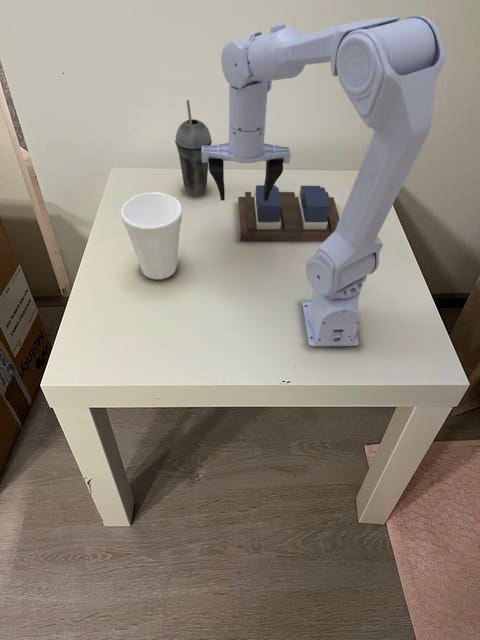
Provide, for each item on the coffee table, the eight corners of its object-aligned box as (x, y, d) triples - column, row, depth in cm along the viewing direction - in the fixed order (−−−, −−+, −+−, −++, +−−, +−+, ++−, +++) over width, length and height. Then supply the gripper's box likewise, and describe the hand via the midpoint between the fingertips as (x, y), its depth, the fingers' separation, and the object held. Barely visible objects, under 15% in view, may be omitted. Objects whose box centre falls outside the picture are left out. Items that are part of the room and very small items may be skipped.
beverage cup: (219, 188, 106) (218, 96, 91) (199, 204, 102) (196, 110, 87) (191, 178, 108) (187, 86, 94) (172, 193, 104) (163, 100, 89)
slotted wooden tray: (341, 241, 95) (345, 227, 93) (240, 241, 94) (240, 227, 92) (331, 204, 103) (334, 192, 101) (238, 204, 102) (238, 191, 100)
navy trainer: (280, 229, 94) (282, 207, 90) (256, 229, 94) (258, 207, 90) (275, 199, 100) (277, 177, 97) (253, 199, 100) (254, 177, 96)
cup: (154, 244, 93) (146, 185, 83) (197, 263, 90) (194, 203, 80) (119, 274, 87) (107, 214, 77) (164, 296, 84) (157, 236, 74)
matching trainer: (326, 229, 94) (331, 207, 90) (303, 229, 94) (306, 207, 90) (319, 199, 101) (322, 178, 97) (297, 199, 101) (300, 177, 97)
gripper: (290, 112, 79) (282, 184, 89) (201, 110, 78) (203, 184, 89) (295, 133, 74) (286, 207, 85) (200, 132, 74) (203, 207, 84)
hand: (244, 197), depth 86 cm, fingers open, 7 cm apart
